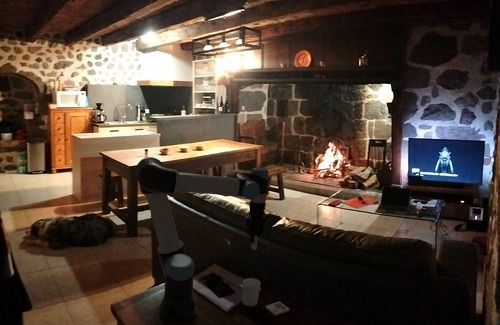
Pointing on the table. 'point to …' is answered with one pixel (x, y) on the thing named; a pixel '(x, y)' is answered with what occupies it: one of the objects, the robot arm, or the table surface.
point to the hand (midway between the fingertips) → (253, 248)
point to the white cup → (251, 291)
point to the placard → (277, 308)
